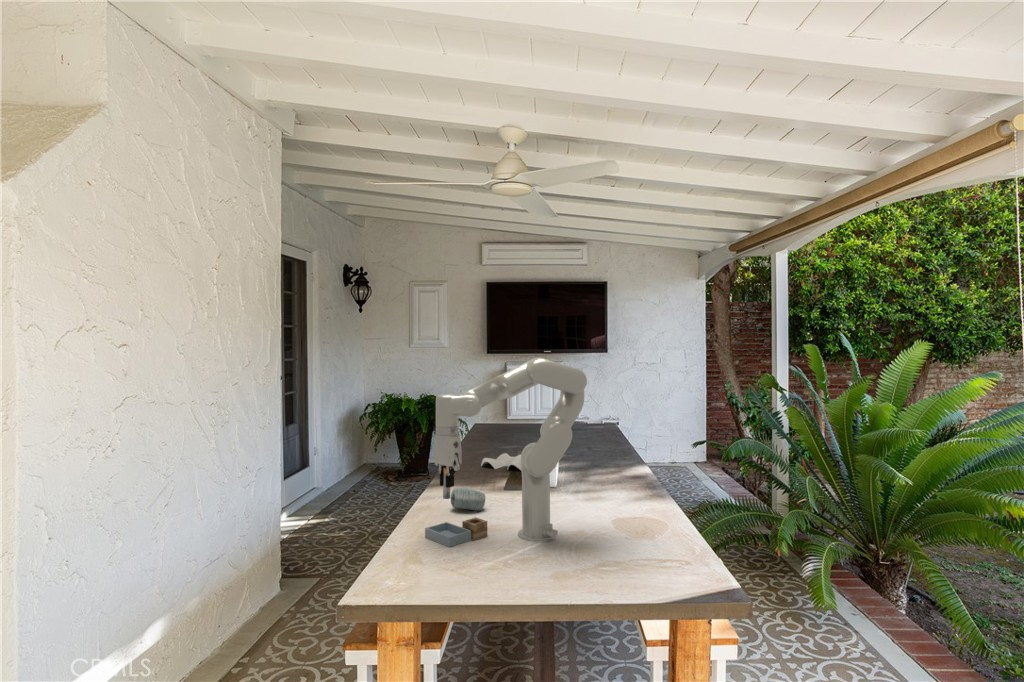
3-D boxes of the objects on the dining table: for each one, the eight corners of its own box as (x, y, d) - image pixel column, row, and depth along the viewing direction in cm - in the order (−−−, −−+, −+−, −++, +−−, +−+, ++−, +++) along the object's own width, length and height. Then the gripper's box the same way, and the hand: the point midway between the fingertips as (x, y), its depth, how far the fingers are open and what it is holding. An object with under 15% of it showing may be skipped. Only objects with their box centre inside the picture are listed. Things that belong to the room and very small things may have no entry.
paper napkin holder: (477, 473, 283) (477, 454, 283) (494, 465, 301) (493, 447, 301) (523, 478, 273) (523, 457, 273) (537, 469, 290) (537, 450, 290)
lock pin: (451, 498, 189) (452, 468, 189) (446, 499, 187) (446, 469, 187) (447, 496, 190) (447, 467, 190) (441, 498, 189) (441, 468, 189)
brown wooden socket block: (487, 535, 191) (487, 521, 191) (473, 540, 187) (473, 525, 187) (475, 531, 195) (475, 517, 195) (462, 536, 191) (462, 521, 191)
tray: (471, 540, 187) (471, 530, 187) (449, 547, 181) (449, 537, 181) (446, 530, 197) (446, 521, 197) (425, 537, 190) (425, 528, 190)
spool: (444, 507, 216) (453, 483, 215) (450, 500, 225) (459, 477, 225) (477, 521, 214) (486, 497, 214) (481, 514, 224) (490, 491, 223)
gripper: (471, 432, 186) (471, 488, 186) (441, 427, 197) (441, 479, 197) (453, 435, 180) (453, 492, 180) (423, 429, 192) (423, 483, 192)
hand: (446, 485), depth 189 cm, fingers closed on lock pin, 2 cm apart
